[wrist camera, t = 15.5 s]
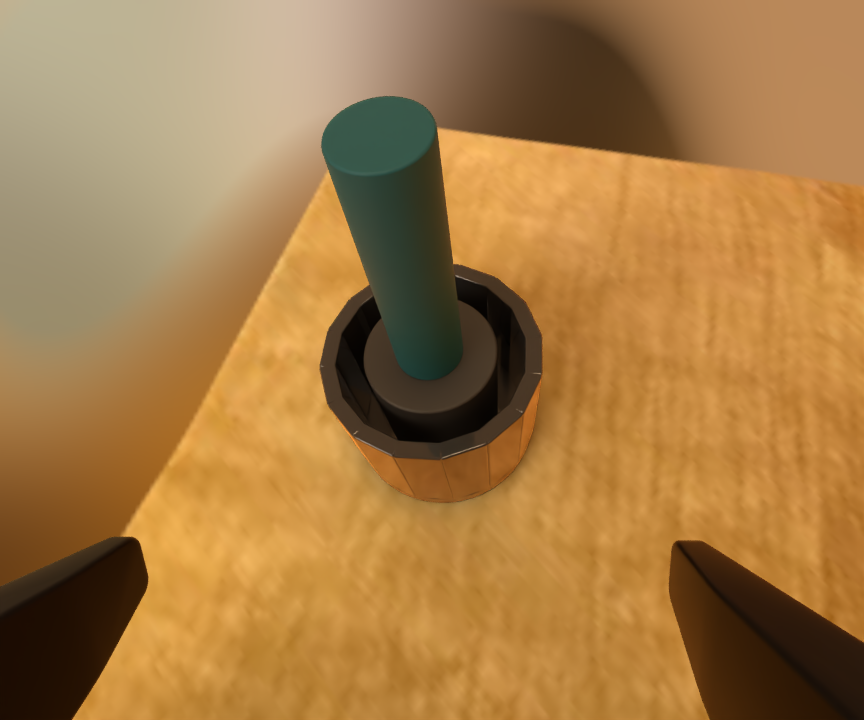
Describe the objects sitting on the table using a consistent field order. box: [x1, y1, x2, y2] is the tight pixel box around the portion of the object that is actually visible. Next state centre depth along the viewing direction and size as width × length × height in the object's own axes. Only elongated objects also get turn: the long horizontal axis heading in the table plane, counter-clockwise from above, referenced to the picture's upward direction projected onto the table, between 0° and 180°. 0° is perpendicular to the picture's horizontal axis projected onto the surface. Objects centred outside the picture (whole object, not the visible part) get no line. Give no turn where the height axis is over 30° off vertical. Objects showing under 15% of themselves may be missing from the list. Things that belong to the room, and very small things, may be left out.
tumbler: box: [320, 264, 542, 503], centre depth 18 cm, size 7×7×5 cm
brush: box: [321, 96, 498, 443], centre depth 14 cm, size 4×4×12 cm
